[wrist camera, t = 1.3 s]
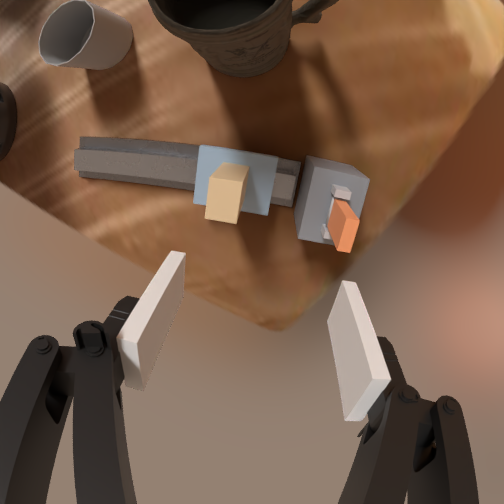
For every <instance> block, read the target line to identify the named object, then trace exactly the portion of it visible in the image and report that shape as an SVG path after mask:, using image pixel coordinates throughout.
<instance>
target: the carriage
mask: <svg viewBox="0 0 504 504" xmlns="http://www.w3.org/2000/svg"><path fill="white" fill-rule="evenodd" d="M277 163H278V156H273V155H267V154H261V153H255V152H249V151H243V150H237V149H230V148H223V147H216V146H208V145H200V147H199V155H198V163H197V172H196V181H195V190H194V200H193V203H195V204H201V205H206V211H205V219H210V220H216V221H222V222H228V223H234V224H236V223H237V220H238V217H239V214H240V211H244V212H250V213H255V214H261V215H267V216H268V211H269V205H270V200H271V195H272V190H273V184H274V179H275V174H276V168H277Z"/></svg>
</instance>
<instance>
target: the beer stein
mask: <svg viewBox="0 0 504 504" xmlns="http://www.w3.org/2000/svg"><path fill="white" fill-rule="evenodd" d="M292 1H293V0H148V2H149V4H150V6H151V8H152V11H153V13H154V15H155V16H156V18H157V20H158V21H159V22H160V23H161V24H162V26H163V27H164V28H165V29H167V30H168V31H169V32H170V33H172V34H173V35H175V36H177V37H179V38H181V39H183V40H184V41H186V42H188V43H189V44H190V45H191V46H192V48H193V49H194V50H195V51H196V52H198V53H199V54H200V56H202V57H203V58H204V59H205V60H206V61H207V62H208V63H209V64H210V65H211V66H212V67H214V68H215V69H216V70H218V71H219V72H221V73H224V74H227V75H230V76H234V77H252V76H256V75H260V74H262V73H265V72H267V71H269V70H270V69H272V68H273V67H275V66H276V65H277V64H278V63H279V62H280V61H281V60H282V58H283V56H284V54H285V52H286V50H287V47H288V43H289V39H290V32H291V28H292V27H293V26H294V25H296V24H298V23H318V22H319V21H320V20H321V16H322V14H321V12H322V11H323V10H325V9H327V8H328V7H330V6H332V5H333V4H335V3H336V2H337V1H339V0H309V1H308V2H307V3H306V4H304V5H303V6H302V7H301V8H299V9H298V10H296V11H292Z"/></svg>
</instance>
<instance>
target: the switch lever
mask: <svg viewBox="0 0 504 504" xmlns="http://www.w3.org/2000/svg"><path fill="white" fill-rule="evenodd" d="M359 222H360V220H359V219H358V217H357V216H356V215H355V213H354V212H353V210H352V209H351V208H350V206H349V205H348V203H347V202H346V200H345V199H342V198H337V197H334V196H333V197H332V201H331V205H330V209H329V213H328V216H327V220H326V226H327V227H328V230H329V232H330V235H331V237H332V239H333V242H334V244H335V247H336V249H337V251H342V252H348V253H350V251H351V248H352V245H353V242H354V238H355V235H356V232H357V229H358V225H359Z"/></svg>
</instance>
